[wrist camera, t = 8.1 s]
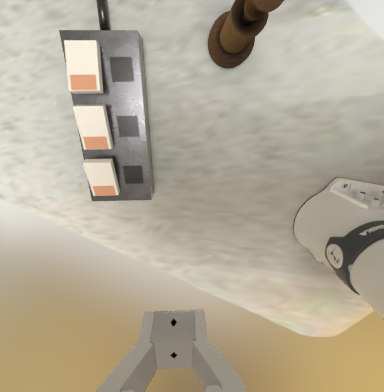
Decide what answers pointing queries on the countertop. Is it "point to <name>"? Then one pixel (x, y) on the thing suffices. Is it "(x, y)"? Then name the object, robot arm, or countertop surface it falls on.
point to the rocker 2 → (101, 177)
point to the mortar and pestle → (238, 31)
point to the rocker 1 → (83, 66)
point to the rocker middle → (93, 126)
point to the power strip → (120, 107)
